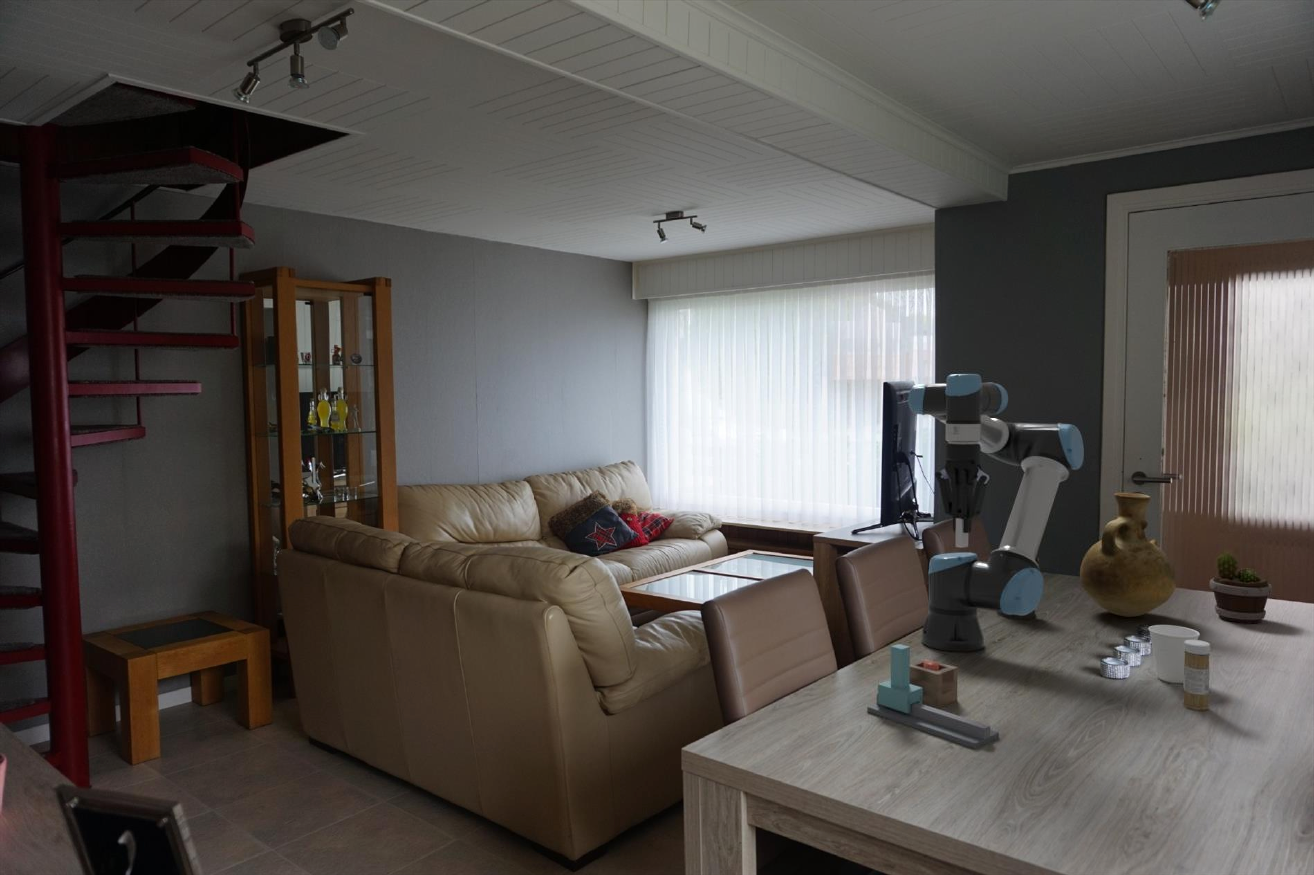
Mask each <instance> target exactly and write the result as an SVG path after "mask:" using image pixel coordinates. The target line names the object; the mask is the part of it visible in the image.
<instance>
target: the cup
mask: <svg viewBox="0 0 1314 875" xmlns="http://www.w3.org/2000/svg"><path fill="white" fill-rule="evenodd" d="M1147 630H1148V631H1149V635H1150V636H1149V637H1150V642H1151V646H1152V647H1151V648H1152V653H1153V660H1154V666H1155V671H1156V677H1157V678H1158V679H1160V680H1161V681H1163V682H1166V683H1171V684H1184V663H1185V650H1184V641H1186V640H1199V637H1200V636H1201V634H1200V632H1199V631H1197V630H1196V629H1192V628H1190V627H1189V628H1188V627H1185V626H1181V625H1171V624H1155V625H1151V626H1149V627H1148V629H1147Z"/></svg>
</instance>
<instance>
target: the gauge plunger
mask: <svg viewBox="0 0 1314 875" xmlns="http://www.w3.org/2000/svg"><path fill="white" fill-rule="evenodd" d="M933 661H934V660H932V661H926V662H924V668H926V669H929V670H933V671H939V664H938V663H937V662H938V661H935V662H933Z"/></svg>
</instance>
